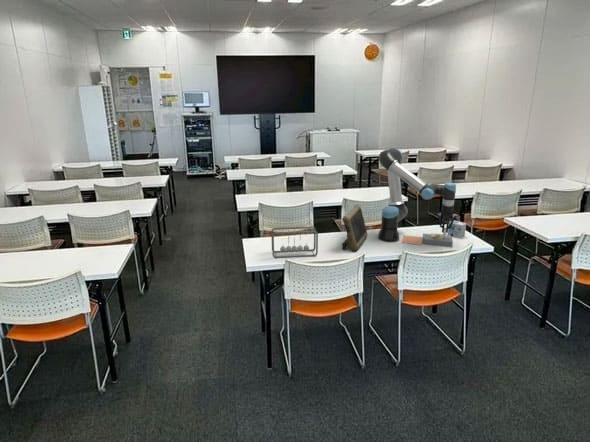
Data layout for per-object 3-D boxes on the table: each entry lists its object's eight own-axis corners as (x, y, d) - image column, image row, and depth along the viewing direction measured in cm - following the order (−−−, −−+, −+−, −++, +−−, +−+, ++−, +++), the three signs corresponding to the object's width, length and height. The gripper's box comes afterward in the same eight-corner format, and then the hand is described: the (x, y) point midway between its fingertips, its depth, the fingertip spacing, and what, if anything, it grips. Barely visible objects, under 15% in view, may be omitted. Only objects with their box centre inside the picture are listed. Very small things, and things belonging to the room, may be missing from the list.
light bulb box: (447, 235, 302) (448, 221, 299) (451, 233, 306) (452, 219, 303) (460, 238, 294) (462, 225, 291) (464, 236, 299) (466, 223, 295)
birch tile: (431, 238, 284) (431, 236, 284) (431, 235, 290) (431, 233, 289) (443, 239, 282) (443, 237, 282) (442, 236, 288) (442, 234, 287)
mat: (401, 243, 287) (401, 242, 287) (403, 235, 301) (403, 235, 301) (422, 245, 283) (422, 244, 283) (422, 237, 297) (422, 237, 297)
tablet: (360, 253, 270) (362, 217, 262) (340, 250, 274) (341, 216, 266) (367, 237, 299) (369, 205, 292) (349, 235, 304) (350, 203, 296)
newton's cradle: (315, 250, 275) (315, 226, 270) (317, 256, 265) (318, 231, 260) (271, 252, 272) (271, 227, 267) (272, 258, 262) (272, 233, 257)
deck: (422, 244, 285) (422, 239, 283) (422, 238, 296) (422, 233, 294) (452, 247, 279) (452, 241, 278) (451, 241, 290) (451, 236, 288)
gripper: (438, 205, 275) (434, 237, 283) (458, 207, 272) (454, 239, 279) (437, 202, 282) (434, 234, 290) (457, 204, 279) (453, 236, 286)
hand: (444, 236), depth 284 cm, fingers closed
